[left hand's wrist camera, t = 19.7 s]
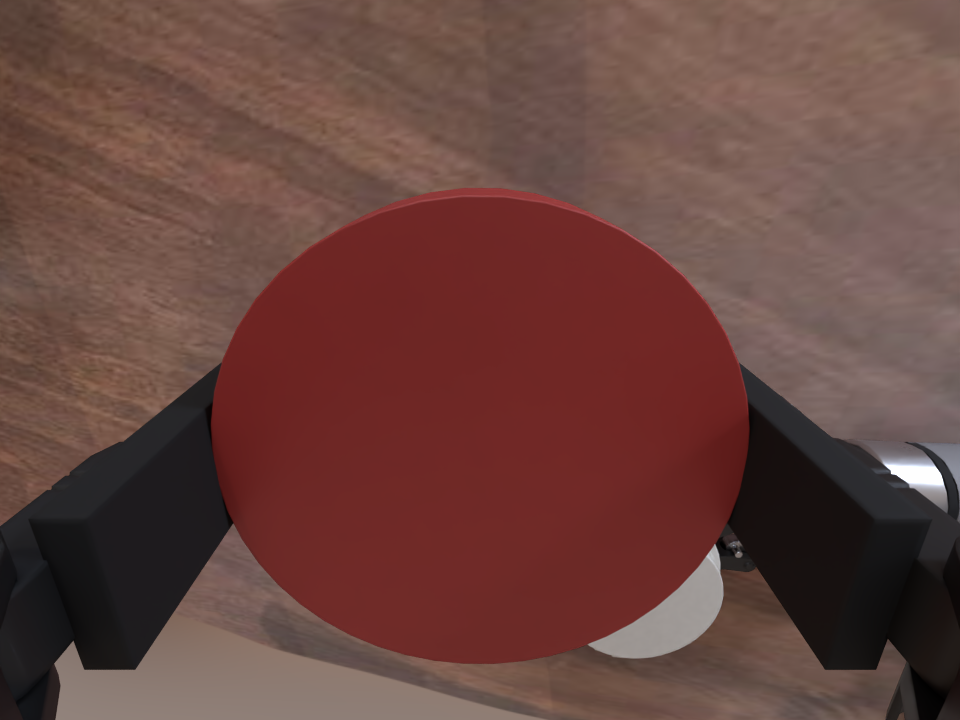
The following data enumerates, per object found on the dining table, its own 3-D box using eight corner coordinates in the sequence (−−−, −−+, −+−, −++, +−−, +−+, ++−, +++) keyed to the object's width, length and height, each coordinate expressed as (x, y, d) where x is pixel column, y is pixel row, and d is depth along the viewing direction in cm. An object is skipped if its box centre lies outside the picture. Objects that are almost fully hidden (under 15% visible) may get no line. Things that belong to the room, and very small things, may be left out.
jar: (540, 377, 42) (578, 517, 26) (653, 395, 43) (760, 542, 26) (517, 476, 45) (538, 655, 29) (623, 491, 46) (701, 675, 30)
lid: (628, 628, 14) (649, 694, 12) (239, 566, 13) (204, 627, 12) (786, 248, 11) (845, 267, 9) (264, 133, 10) (217, 129, 8)
